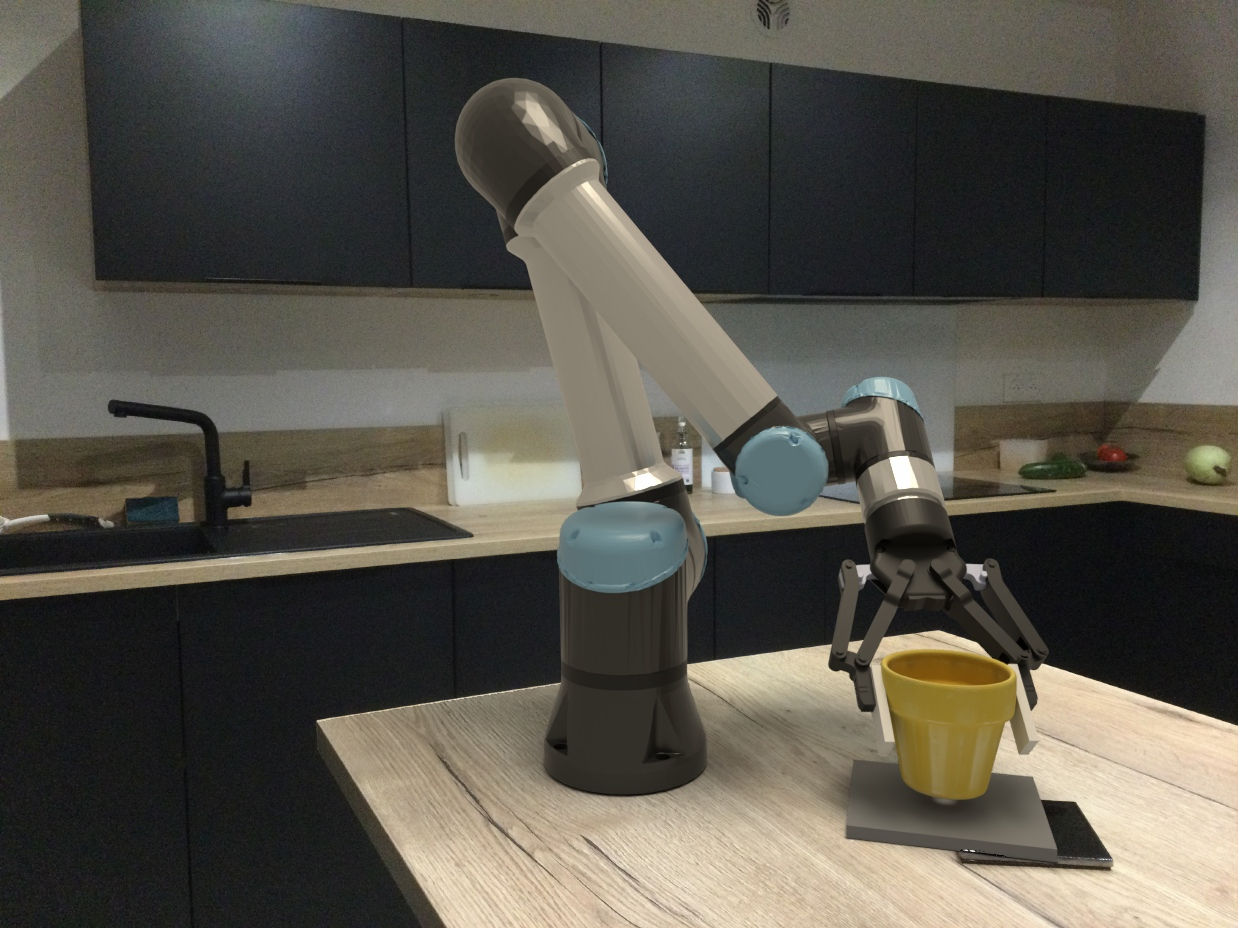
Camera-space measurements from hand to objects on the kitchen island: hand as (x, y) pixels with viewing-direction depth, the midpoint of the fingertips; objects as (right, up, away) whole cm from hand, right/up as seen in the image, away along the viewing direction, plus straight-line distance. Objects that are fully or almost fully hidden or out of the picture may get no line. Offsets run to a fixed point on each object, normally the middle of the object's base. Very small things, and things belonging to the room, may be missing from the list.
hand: (957, 748), depth 75 cm
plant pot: (0, -4, +3) cm, 5 cm away
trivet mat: (0, -6, +4) cm, 7 cm away
